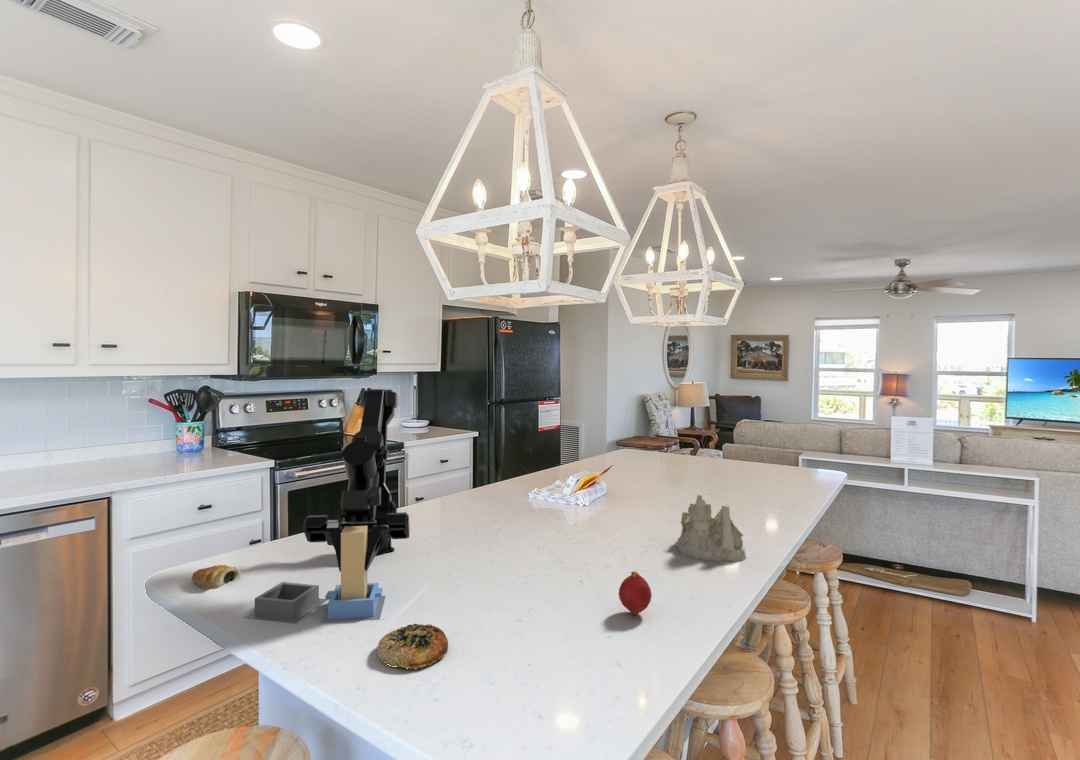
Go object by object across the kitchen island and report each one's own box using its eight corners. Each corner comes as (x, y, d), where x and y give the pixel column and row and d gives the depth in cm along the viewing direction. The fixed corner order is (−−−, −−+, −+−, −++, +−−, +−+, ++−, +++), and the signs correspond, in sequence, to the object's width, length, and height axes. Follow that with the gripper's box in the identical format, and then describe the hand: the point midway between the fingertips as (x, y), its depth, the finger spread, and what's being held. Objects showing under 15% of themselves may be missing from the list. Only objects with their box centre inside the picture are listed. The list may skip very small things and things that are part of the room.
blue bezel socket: (330, 601, 106) (331, 582, 106) (385, 598, 108) (385, 580, 108) (319, 626, 96) (319, 605, 96) (379, 622, 98) (379, 602, 98)
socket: (280, 597, 108) (280, 579, 107) (328, 602, 106) (328, 583, 106) (243, 621, 98) (243, 600, 98) (295, 626, 96) (295, 606, 96)
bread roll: (453, 634, 94) (451, 607, 93) (443, 681, 83) (441, 650, 82) (386, 637, 94) (384, 609, 93) (367, 684, 83) (365, 653, 82)
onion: (629, 604, 107) (629, 562, 106) (656, 613, 103) (657, 570, 103) (612, 614, 102) (613, 571, 102) (640, 624, 98) (641, 579, 98)
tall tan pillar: (344, 596, 104) (344, 526, 103) (367, 595, 104) (367, 525, 104) (340, 605, 100) (340, 533, 99) (364, 604, 100) (364, 532, 100)
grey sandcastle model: (747, 564, 129) (746, 498, 129) (673, 558, 134) (673, 494, 134) (744, 547, 143) (743, 488, 144) (678, 542, 148) (678, 485, 149)
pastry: (181, 586, 113) (181, 567, 113) (211, 574, 119) (211, 557, 119) (217, 593, 110) (217, 573, 110) (245, 580, 116) (245, 562, 116)
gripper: (305, 472, 103) (289, 552, 93) (409, 470, 107) (404, 547, 96) (314, 504, 111) (301, 580, 101) (411, 501, 115) (407, 575, 104)
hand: (353, 570), depth 100 cm, fingers closed on tall tan pillar, 4 cm apart
